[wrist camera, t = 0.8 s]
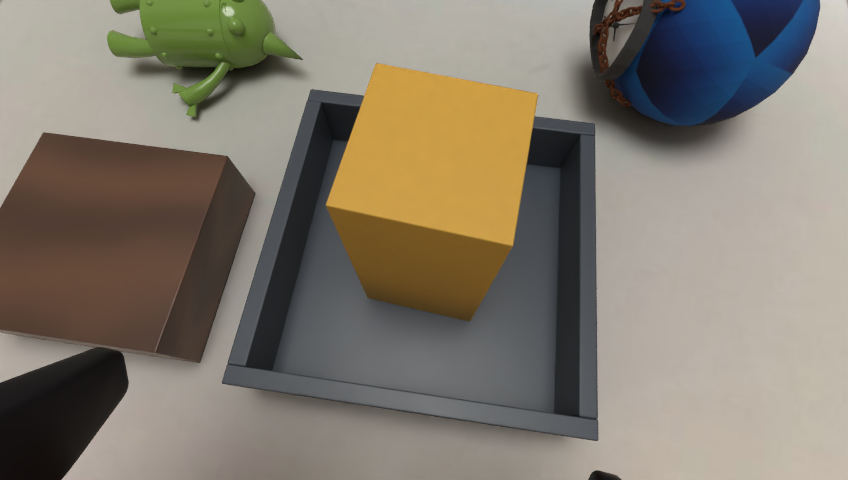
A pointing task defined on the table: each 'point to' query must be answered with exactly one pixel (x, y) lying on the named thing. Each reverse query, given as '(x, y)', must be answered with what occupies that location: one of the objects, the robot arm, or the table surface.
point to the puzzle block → (432, 188)
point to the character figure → (200, 38)
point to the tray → (424, 331)
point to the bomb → (698, 53)
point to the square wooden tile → (119, 245)
